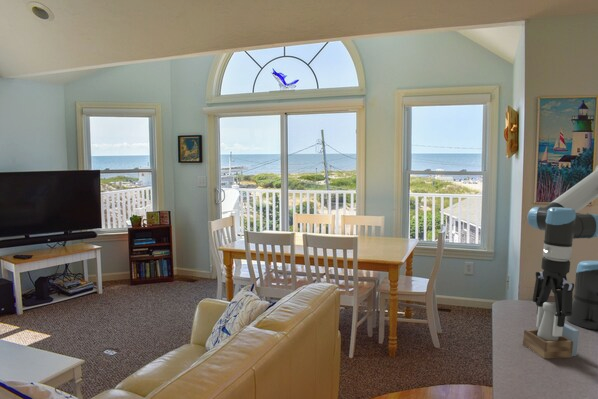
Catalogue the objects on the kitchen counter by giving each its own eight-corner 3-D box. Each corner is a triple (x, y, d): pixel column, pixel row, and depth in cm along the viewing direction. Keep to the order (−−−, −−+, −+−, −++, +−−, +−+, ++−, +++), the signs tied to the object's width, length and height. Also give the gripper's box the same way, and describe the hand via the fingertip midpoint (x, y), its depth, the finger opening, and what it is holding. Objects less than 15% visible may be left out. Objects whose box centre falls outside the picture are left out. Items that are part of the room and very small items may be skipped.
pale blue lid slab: (557, 344, 147) (559, 320, 146) (576, 355, 139) (579, 330, 138) (551, 344, 147) (554, 320, 146) (570, 356, 139) (573, 330, 138)
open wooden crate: (549, 343, 147) (550, 329, 147) (571, 357, 138) (573, 341, 137) (522, 344, 146) (524, 329, 145) (543, 358, 136) (545, 342, 136)
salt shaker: (560, 348, 138) (564, 307, 137) (540, 346, 139) (544, 305, 138) (553, 340, 144) (557, 300, 143) (534, 338, 145) (538, 299, 144)
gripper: (524, 251, 147) (517, 319, 150) (569, 266, 128) (561, 345, 131) (544, 251, 149) (538, 319, 151) (592, 266, 130) (583, 344, 132)
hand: (548, 331), depth 141 cm, fingers open, 6 cm apart
